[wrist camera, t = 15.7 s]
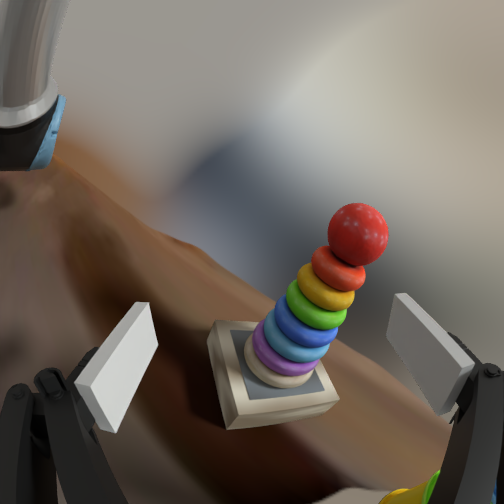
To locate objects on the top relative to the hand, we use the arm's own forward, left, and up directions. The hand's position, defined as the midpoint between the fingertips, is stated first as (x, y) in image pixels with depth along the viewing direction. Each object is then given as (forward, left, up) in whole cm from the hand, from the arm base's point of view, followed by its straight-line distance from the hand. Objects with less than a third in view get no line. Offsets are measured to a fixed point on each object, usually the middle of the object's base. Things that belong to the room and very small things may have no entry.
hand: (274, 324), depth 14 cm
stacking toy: (-7, +8, -13) cm, 17 cm away
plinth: (-7, +9, -17) cm, 20 cm away
